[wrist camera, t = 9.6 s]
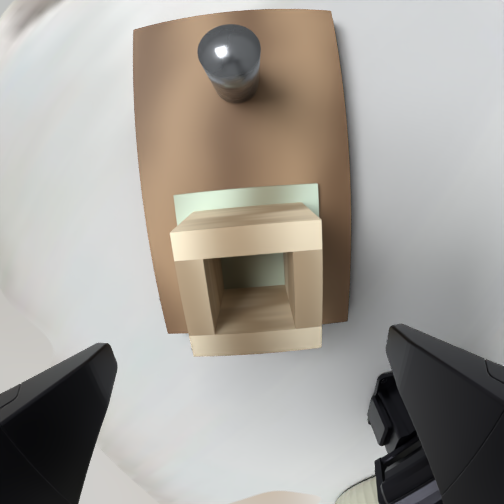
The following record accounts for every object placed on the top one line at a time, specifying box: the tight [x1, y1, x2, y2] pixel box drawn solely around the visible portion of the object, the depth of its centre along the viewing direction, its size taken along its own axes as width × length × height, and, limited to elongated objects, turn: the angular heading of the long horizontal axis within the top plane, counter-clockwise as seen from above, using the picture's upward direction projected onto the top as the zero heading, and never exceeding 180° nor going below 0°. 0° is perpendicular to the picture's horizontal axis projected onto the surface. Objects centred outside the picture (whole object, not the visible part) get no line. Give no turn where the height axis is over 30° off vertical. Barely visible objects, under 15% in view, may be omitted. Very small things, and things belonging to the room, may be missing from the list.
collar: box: [170, 202, 323, 357], centre depth 15 cm, size 6×6×5 cm
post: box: [197, 24, 261, 103], centre depth 12 cm, size 2×2×6 cm
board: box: [133, 9, 351, 334], centre depth 17 cm, size 12×20×2 cm, turn 5°
